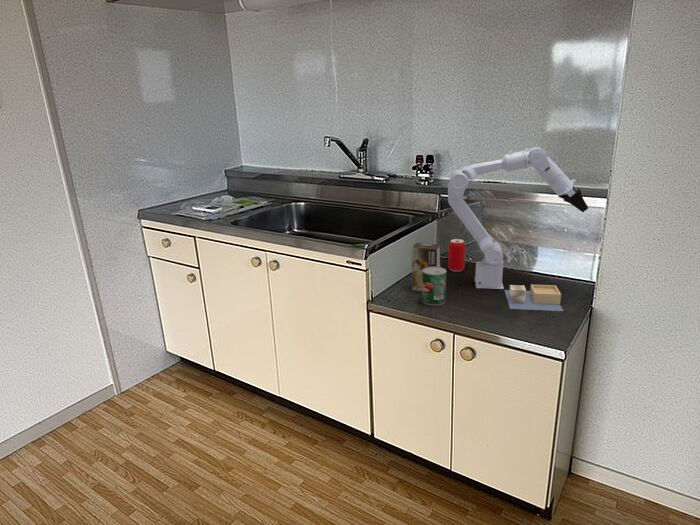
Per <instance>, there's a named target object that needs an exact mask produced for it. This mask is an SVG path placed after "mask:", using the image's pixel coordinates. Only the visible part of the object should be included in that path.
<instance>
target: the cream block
mask: <svg viewBox="0 0 700 525" xmlns="http://www.w3.org/2000/svg"><path fill="white" fill-rule="evenodd" d="M509 290H510V291H509V299H510V302H511V303H525V299H526V291H527V290H526V287H525V285H520V284H519V285H518V284H517V285H515V284H509Z"/></svg>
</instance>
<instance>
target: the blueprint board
mask: <svg viewBox="0 0 700 525" xmlns="http://www.w3.org/2000/svg"><path fill="white" fill-rule="evenodd" d="M509 291H510V289H504V293H505V296H506V301H507V303H508V307H509V309H510V310H530V311H533V310H534V311H547V312H548V311H552V312H555V311H556V312H564V309H563V308H562V306H561V299H562V293H561V291H560V290H559V288H558V287H557V285H555V284H553V285H551V284H530V290H526V299H525V303H511V302H510V299H509Z"/></svg>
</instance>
